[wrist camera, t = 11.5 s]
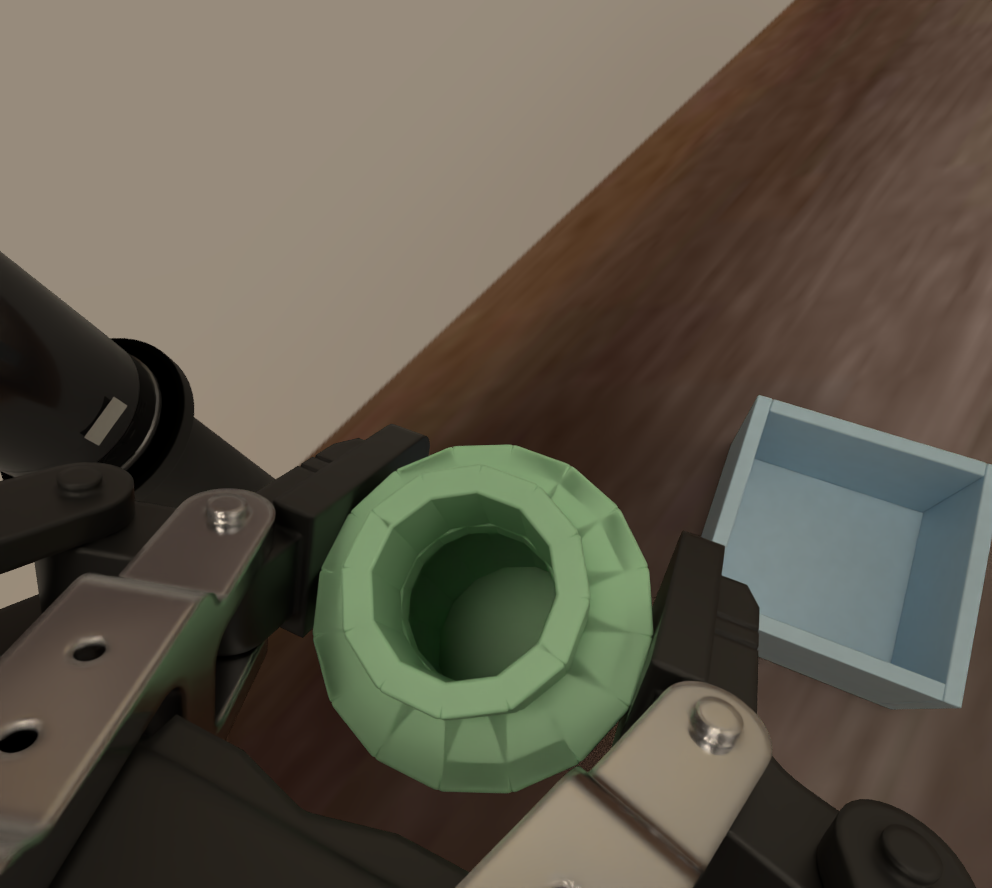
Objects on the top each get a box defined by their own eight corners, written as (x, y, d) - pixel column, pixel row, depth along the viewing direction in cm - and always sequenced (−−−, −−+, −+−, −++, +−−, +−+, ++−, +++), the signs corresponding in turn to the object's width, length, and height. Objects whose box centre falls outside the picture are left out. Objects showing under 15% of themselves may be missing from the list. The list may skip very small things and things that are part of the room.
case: (672, 622, 30) (691, 604, 24) (731, 444, 32) (758, 394, 27) (891, 710, 27) (962, 709, 22) (934, 509, 30) (1005, 467, 25)
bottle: (396, 703, 17) (195, 694, 8) (474, 530, 18) (377, 358, 9) (577, 791, 15) (578, 896, 7) (644, 598, 17) (717, 474, 8)
